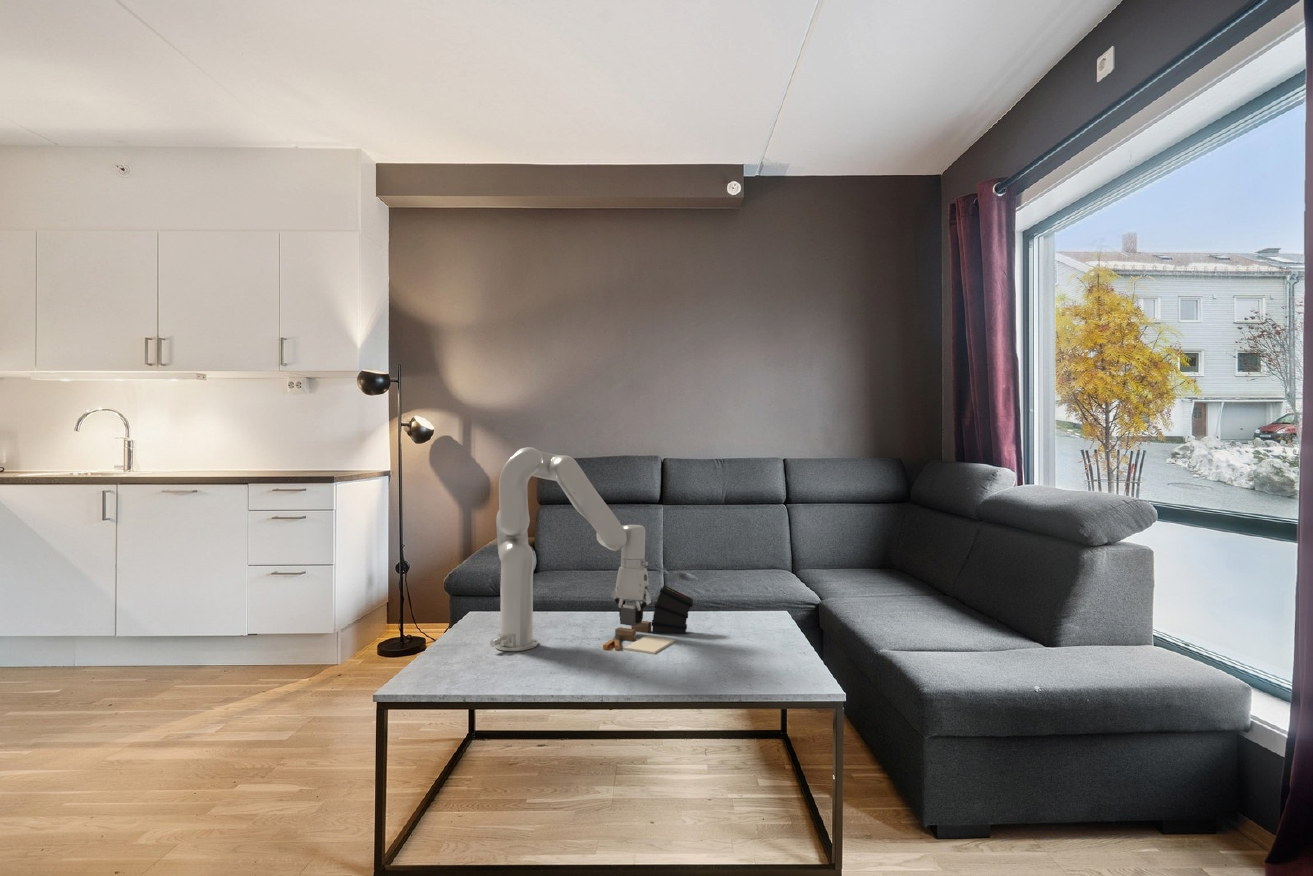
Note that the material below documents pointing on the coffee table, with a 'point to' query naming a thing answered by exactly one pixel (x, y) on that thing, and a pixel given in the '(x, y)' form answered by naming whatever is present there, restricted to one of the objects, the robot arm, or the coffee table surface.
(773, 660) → the coffee table surface
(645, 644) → the mat
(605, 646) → the cutter
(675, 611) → the black layered block
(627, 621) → the grey box
